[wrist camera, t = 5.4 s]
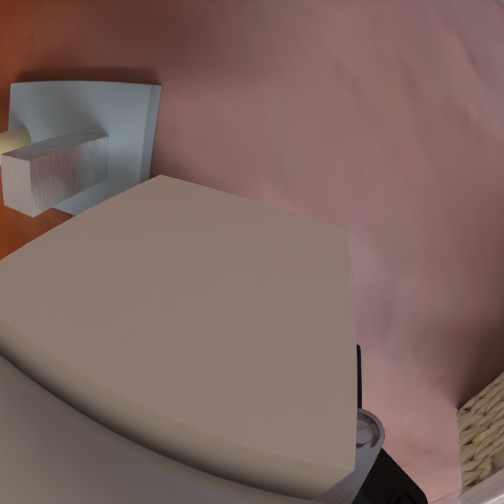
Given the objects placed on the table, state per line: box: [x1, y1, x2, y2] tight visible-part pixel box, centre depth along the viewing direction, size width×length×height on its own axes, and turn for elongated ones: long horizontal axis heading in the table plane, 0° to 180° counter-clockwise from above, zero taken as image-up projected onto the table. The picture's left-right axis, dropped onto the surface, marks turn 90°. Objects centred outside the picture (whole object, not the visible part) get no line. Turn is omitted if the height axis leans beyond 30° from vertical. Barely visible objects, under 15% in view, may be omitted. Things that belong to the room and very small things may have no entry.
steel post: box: [0, 131, 109, 217], centre depth 18 cm, size 4×4×8 cm
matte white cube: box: [0, 175, 357, 501], centre depth 8 cm, size 6×6×8 cm
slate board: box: [0, 80, 162, 216], centre depth 21 cm, size 12×18×6 cm, turn 77°
